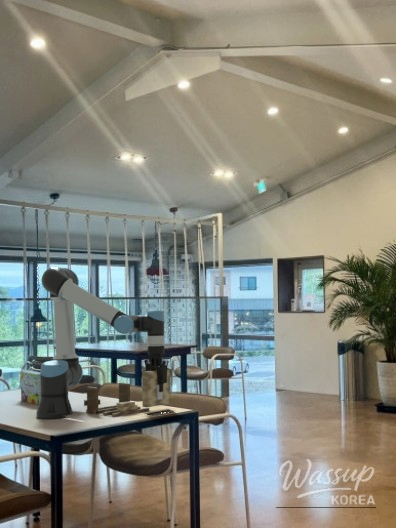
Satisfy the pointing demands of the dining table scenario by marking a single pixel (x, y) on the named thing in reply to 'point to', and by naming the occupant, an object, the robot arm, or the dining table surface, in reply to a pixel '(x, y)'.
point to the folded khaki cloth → (154, 389)
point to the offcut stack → (126, 406)
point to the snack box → (31, 386)
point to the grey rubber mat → (160, 412)
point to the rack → (110, 410)
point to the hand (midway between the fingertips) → (156, 398)
